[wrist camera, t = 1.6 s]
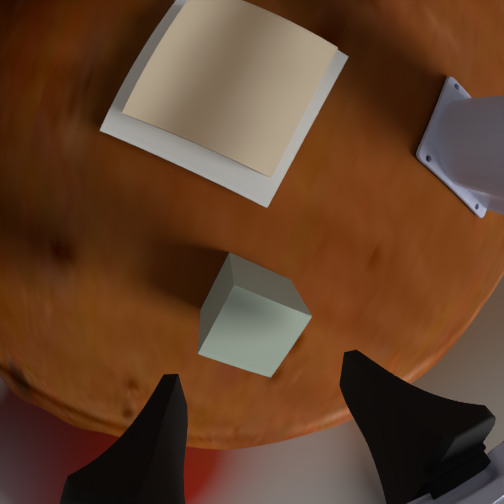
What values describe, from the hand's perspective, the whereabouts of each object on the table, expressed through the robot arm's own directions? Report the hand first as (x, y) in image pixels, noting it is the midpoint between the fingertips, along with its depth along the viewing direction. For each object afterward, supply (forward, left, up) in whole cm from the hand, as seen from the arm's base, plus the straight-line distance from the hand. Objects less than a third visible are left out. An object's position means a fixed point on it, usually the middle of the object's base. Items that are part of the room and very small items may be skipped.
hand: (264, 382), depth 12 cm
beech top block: (+7, -11, -6) cm, 14 cm away
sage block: (0, 0, -9) cm, 9 cm away
